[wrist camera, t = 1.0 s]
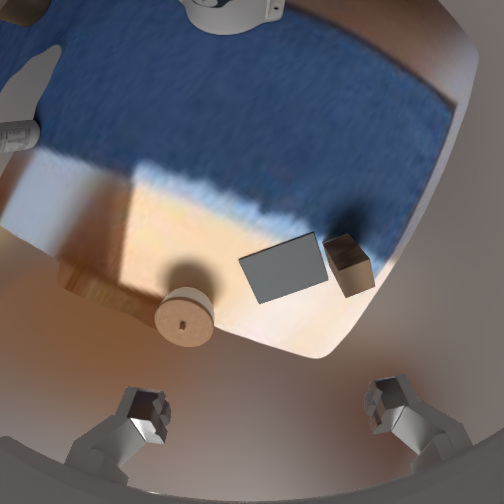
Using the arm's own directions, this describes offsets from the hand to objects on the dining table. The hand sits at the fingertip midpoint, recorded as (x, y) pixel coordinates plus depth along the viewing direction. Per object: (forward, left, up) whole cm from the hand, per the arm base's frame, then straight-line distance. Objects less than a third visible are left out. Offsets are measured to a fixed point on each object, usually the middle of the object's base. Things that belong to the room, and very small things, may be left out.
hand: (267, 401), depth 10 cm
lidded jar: (+24, -5, -39) cm, 46 cm away
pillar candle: (-29, -64, -39) cm, 80 cm away
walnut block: (+4, +17, -39) cm, 43 cm away
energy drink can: (+1, -49, -39) cm, 62 cm away
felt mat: (+11, +10, -39) cm, 42 cm away
